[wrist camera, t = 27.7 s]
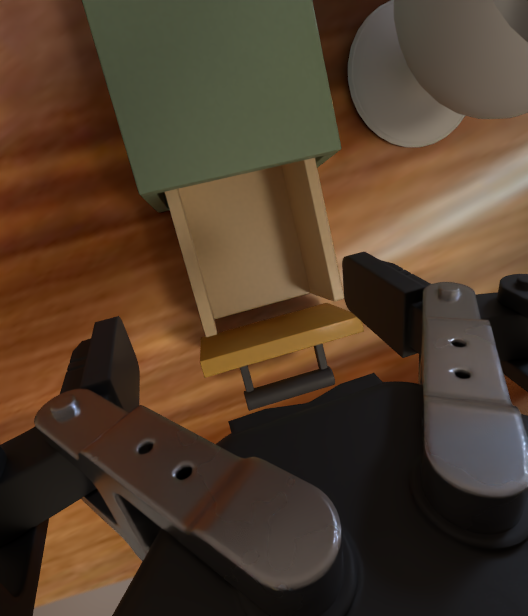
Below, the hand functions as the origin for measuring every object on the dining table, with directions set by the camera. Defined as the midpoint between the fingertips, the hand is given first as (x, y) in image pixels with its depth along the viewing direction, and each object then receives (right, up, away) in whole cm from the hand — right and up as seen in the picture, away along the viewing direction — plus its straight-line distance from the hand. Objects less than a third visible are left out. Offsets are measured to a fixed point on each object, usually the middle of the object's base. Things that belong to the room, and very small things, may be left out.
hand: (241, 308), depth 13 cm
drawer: (0, +3, +19) cm, 19 cm away
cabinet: (-4, +18, +17) cm, 25 cm away
